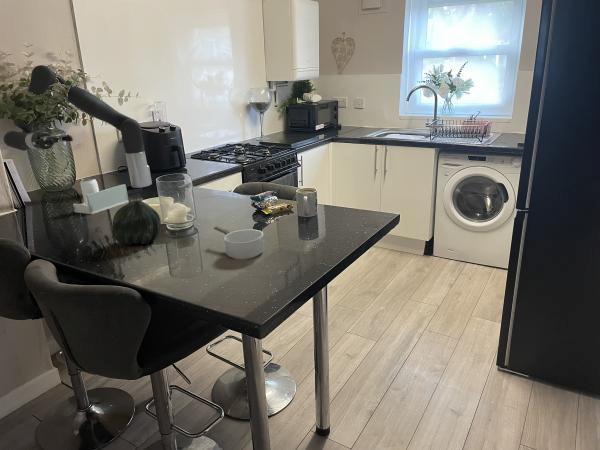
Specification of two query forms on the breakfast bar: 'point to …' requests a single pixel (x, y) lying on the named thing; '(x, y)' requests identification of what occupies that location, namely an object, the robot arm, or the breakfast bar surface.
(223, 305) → the breakfast bar surface
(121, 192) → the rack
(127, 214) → the squash
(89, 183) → the can
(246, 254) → the saucepan
